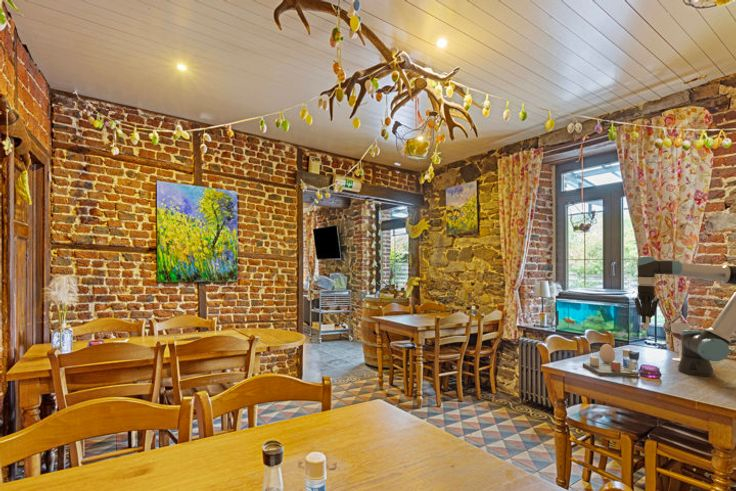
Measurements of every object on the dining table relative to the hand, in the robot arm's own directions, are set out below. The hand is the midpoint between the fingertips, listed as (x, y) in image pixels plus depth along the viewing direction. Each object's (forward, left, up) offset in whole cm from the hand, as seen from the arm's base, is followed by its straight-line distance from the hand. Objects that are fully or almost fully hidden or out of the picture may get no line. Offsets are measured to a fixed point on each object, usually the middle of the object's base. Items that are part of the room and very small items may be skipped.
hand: (646, 328), depth 212 cm
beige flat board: (+17, -4, -24) cm, 30 cm away
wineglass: (-42, -34, -25) cm, 60 cm away
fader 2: (+16, 0, -22) cm, 27 cm away
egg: (+9, -22, -25) cm, 34 cm away
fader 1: (+23, -9, -22) cm, 33 cm away
